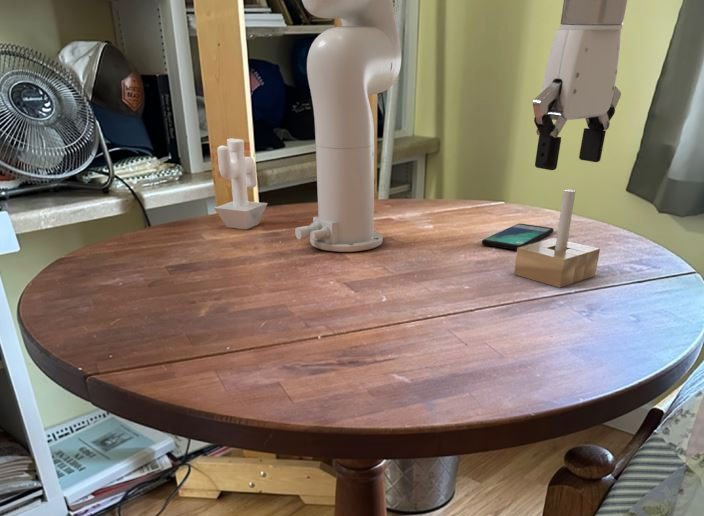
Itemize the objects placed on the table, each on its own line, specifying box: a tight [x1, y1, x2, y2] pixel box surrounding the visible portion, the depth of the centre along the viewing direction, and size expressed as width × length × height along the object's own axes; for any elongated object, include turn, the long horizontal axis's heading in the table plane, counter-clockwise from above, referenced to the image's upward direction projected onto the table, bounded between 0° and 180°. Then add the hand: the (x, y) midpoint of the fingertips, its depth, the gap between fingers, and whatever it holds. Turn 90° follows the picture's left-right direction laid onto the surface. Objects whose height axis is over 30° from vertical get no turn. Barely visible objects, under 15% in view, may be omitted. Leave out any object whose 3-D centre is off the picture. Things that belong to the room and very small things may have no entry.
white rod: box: [555, 188, 576, 252], centre depth 101 cm, size 2×2×12 cm
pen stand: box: [514, 237, 601, 289], centre depth 104 cm, size 8×8×4 cm
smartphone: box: [481, 223, 555, 251], centre depth 122 cm, size 7×1×15 cm
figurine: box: [213, 137, 269, 230], centre depth 129 cm, size 7×9×15 cm
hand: (567, 164), depth 97 cm, fingers open, 9 cm apart
